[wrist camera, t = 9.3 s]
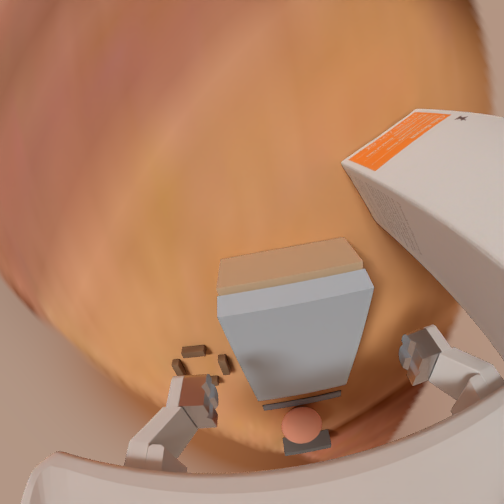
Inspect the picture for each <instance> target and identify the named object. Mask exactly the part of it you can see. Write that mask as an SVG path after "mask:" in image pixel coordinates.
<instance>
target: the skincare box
mask: <svg viewBox="0 0 504 504" xmlns="http://www.w3.org/2000/svg"><path fill="white" fill-rule="evenodd" d="M341 164H342V167H343V168H344V169H345V171H346V172H347V174H348V175H349V177H350V178H351V180H352V182H353V183H354V185H355V187H356V188H357V190H358V192H359V194H360V195H361V197H362V199H363V200H364V202H365V204H366V206H367V207H368V209H369V211H370V213H371V214H372V216H373V218H374V220H375V221H376V222H377V223H378V224H379V225H380V226H381V227H382V228H383V229H384V230H386V231H387V232H388V233H389V234H390V235H391V236H392V237H393V238H394V239H396V240H397V241H398V242H399V243H400V244H401V245H402V246H403V247H404V248H405V249H406V250H407V251H408V252H409V253H410V254H411V255H413V256H414V257H415V258H416V259H417V260H418V261H419V262H420V263H421V264H422V265H423V266H424V267H425V268H426V269H427V270H428V271H429V272H430V273H431V274H432V275H433V276H434V277H435V278H436V279H437V280H438V282H439V283H440V284H441V285H442V286H443V287H444V288H445V289H446V290H447V291H448V292H449V293H450V294H451V295H452V296H453V298H454V299H455V300H456V301H457V302H458V303H459V304H460V305H461V306H462V308H463V309H464V310H465V311H466V312H467V313H468V314H469V316H470V317H471V318H472V319H473V321H474V322H475V323H476V324H477V325H478V327H479V328H480V329H481V330H482V331H483V333H484V334H485V335H486V337H487V338H488V339H489V340H490V342H491V343H492V345H493V346H494V347H495V349H496V350H497V351H498V352H499V354H500V356H501V357H502V359H503V360H504V117H499V116H494V115H487V114H480V113H471V112H461V111H448V110H434V109H415V110H414V111H412V112H411V113H410V114H409V115H407V116H406V117H405V118H403V119H402V120H400V121H399V122H398V123H396V124H395V125H393V126H392V127H391V128H389V129H388V130H387V131H385V132H384V133H382V134H381V135H380V136H378V137H377V138H375V139H374V140H372V141H371V142H369V143H368V144H366V145H365V146H363V147H362V148H360V149H359V150H358V151H356V152H355V153H353V154H352V155H350V156H349V157H347V158H346V159H345V160H343V161H342V162H341Z"/></svg>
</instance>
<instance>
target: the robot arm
mask: <svg viewBox="0 0 504 504" xmlns="http://www.w3.org/2000/svg"><path fill="white" fill-rule="evenodd" d="M401 341H402V343H403V345H402V346H401V347H400V349H399V360H400V363H401V365H402V367H403V368H404V369H406V370H408V371H407V377H408V379H409V381H410V383H411V385H412V386H414V385H417V384H420V383H422V382H425V381H428V380H429V382H430V383H432V384H433V385H435V386H436V387H438V388H439V389H441V390H442V391H444V392H445V393H447V394H448V395H450V396H451V397H453V398H454V399H456V400H457V401H456V403H455V404H454V406H453V407H452V410H451V412H452V416H450V417H448V418H446V419H444V420H442V421H440V422H438V423H436V424H434V425H432V426H430V427H428V428H425V429H423V430H421V431H418V432H416V433H413V434H411V435H408V436H406V437H403V438H401V439H398V440H396V441H393V442H390V443H387V444H384V445H381V446H378V447H375V448H372V449H369V450H365V451H362V452H359V453H355V454H351V455H348V456H344V457H340V458H336V459H331V460H327V461H322V462H317V463H312V464H308V465H301V466H296V467H289V468H282V469H274V470H265V471H256V472H255V471H254V472H240V473H187V467H186V466H185V465H183V464H182V463H181V462H180V461H179V460H178V459H177V458H178V457H179V455H180V454H181V453H182V451H183V450H184V448H185V447H186V446H187V444H188V443H189V441H190V440H191V439H192V437H193V436H194V434H195V433H196V431H197V430H198V429H197V428H212V427H217V419H218V414H217V412H216V410H215V409H216V408H217V406H218V393H217V389H216V387H215V385H213V384H211V381H212V379H211V377H210V375H209V374H202V375H183V376H173V378H172V380H171V385H170V390H169V395H168V400H167V405H166V407H163V408H162V409H161V410H160V411H159V412H158V413H157V414H156V415H155V416H154V417H153V418H152V419H151V420H150V421H149V422H148V423H147V424H146V425H145V426H144V427H143V428H142V429H141V430H140V431H139V432H138V433H137V434H136V435H135V436H134V437H133V438H132V439H131V440H130V441H129V446H128V450H127V454H126V458H125V463H124V466H120V465H114V464H109V463H104V462H99V461H95V460H91V459H87V458H82V457H79V456H76V455H72V454H69V453H66V452H61V451H57V452H55V453H53V454H51V455H50V456H48V457H47V458H45V459H44V460H43V461H42V462H41V463H39V464H38V465H37V466H36V467H35V468H34V469H33V471H32V473H31V475H30V477H29V479H28V482H27V485H26V488H25V491H24V493H23V497H22V501H21V504H504V380H503V378H502V377H501V376H500V374H499V373H498V371H497V370H496V368H495V367H494V365H493V364H490V363H488V362H486V361H484V360H482V359H479V358H477V357H475V356H473V355H470V354H469V353H466V352H464V351H462V350H459V349H457V348H455V347H453V348H451V346H450V345H449V344H448V342H447V341H446V339H445V338H444V337H443V335H442V334H441V333H440V331H439V330H438V329H437V327H436V326H435V325H433V324H432V325H430V326H427V327H424V328H420V329H418V330H415V331H412V332H409V333H406V334H404V335H403V336H402V340H401Z"/></svg>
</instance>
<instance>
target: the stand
mask: <svg viewBox="0 0 504 504" xmlns="http://www.w3.org/2000/svg"><path fill="white" fill-rule="evenodd" d="M181 354H182V356H183V358H190V357H200V356H205V355H206V348H205V346H204V345H199V346H190V347H182V352H181ZM218 363H219V365H220V368H221V370H222V372H223V375H230V370H231V368H230V366H229V363H228V360H227V358H226V355H218ZM172 367H173V369H174V371H175V372H176V374H177V376H183V375H186V371H185V369H184V367H183V366H182V364H181V362H180V360H179V359H176V360H173V362H172ZM210 377H211V379H212V381H211V384H213V385H215V386H217V385H219V378H218V376H210Z"/></svg>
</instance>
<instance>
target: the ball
mask: <svg viewBox="0 0 504 504" xmlns="http://www.w3.org/2000/svg"><path fill="white" fill-rule="evenodd" d="M321 428H322V420H321V417H320V415H319V414H318V413H317V412H316V411H315V410H313V409H311V408H309V407H297V408H294V409H292V410H290V411H289V412H288V413H287V414H286V415H285V417H284V418H283V421H282V432H283V434H284V436H285V437H286V438H287V439H288V440H290V441H291V442H294V443H299V444H302V443H307V442H310V441H312V440H313V439H315V438H316V437H317V436H318V435H319V433H320V431H321Z"/></svg>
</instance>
